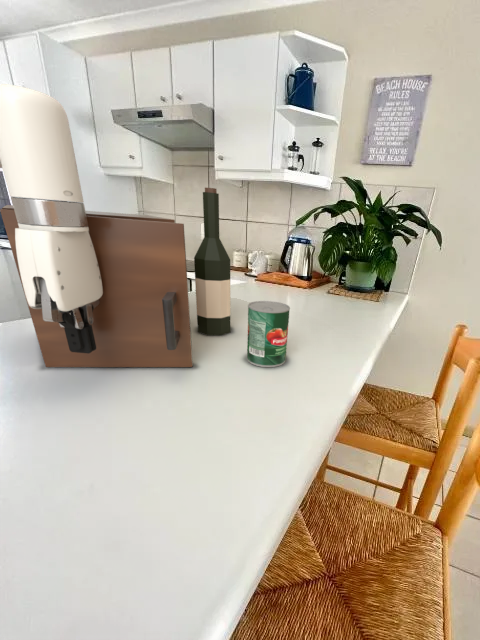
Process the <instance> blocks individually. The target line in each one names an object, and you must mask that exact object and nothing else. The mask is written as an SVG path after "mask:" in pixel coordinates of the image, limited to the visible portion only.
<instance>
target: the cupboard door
mask: <svg viewBox="0 0 480 640" xmlns="http://www.w3.org/2000/svg"><path fill="white" fill-rule="evenodd" d="M0 215H1V218H2V222H3V226H4V229H5V232H6V235H7V239H8V243H9V246H10V250H11V253H12V256H13V258H14V263H15V266H16V270H17V273H18V278H19V280H20V284H21V287H22V291H23V293H24V294H23V295H24V297H25V300H26V305H27V307H28V311H29V314H30V317H31V318H30V319H31V322H32V324H33V328H34V331H35V335H36V339H37V342H38V345H39V349H40V352H41V355H42V359H43V363H44V365H45V368H193V364H194V363H193V349H192V332H191V331H192V330H191V316H190V315H191V314H190V300H189V284H188V268H187V254H186V253H187V252H186V237H185V223H180V222H175V223H170V222H157V221H145V220H133V219H120V218H108V217H95V216H86V217H87V222H88V228H89V231H88V232H89V235H90V238H91V241H92V244H93V247H94V251H95V254H96V258H97V262H98V266H99V270H100V275H101V281H102V288H103V295H102V296H101V297H100V298H99V304H98V305H97V306H96V307H95V308H94V309H93V312H92V313H93V323H92V324H89V325H92V329H93V334H94V339H95V344H96V350H94V351H92V352H91V353H89V354H88V353H77V352H71V351H70V350H69V346H68V342H67V338H66V334H65V330H64V328H62V327H61V326H60V324H59V323H58V322H48V321H44V320H43V315H42V309H33V308H31V307H30V306H29V304H28V302H27V299H26V295H25V292H24V288H23V284H22V279H21V275H20V270H19V265H18V259H17V252H16V242H15V228H19V226H18V222H17V218H16V215H15V211H14V210H9V209H2V208H0ZM69 314H70V313H69Z"/></svg>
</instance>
